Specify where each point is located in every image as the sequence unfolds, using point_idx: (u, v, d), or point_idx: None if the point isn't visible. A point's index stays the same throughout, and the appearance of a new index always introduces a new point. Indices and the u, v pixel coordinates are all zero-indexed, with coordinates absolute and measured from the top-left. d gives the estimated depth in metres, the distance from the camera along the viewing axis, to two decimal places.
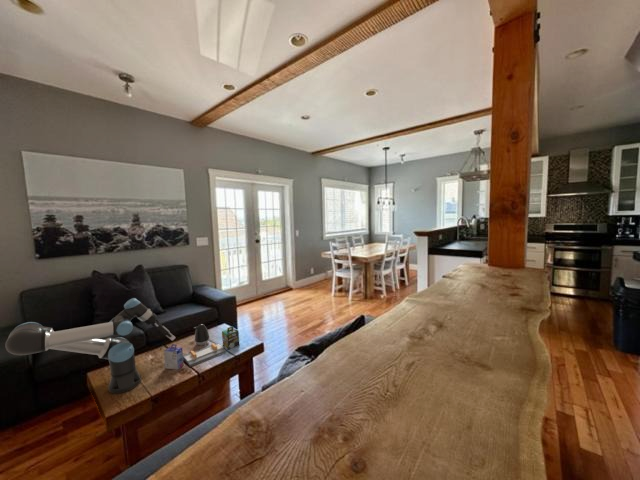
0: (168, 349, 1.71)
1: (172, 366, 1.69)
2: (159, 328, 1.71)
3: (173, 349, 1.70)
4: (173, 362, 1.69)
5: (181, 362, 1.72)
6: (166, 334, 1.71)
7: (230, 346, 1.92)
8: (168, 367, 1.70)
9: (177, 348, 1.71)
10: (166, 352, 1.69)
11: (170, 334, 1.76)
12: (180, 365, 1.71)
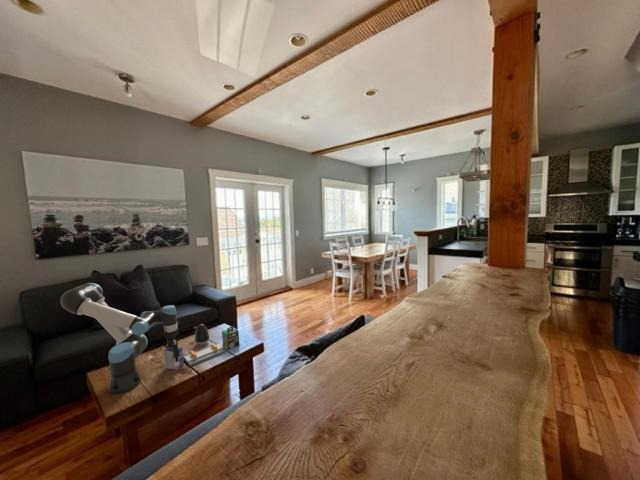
0: (168, 349, 1.71)
1: (173, 366, 1.69)
2: (175, 347, 1.65)
3: None
4: (173, 362, 1.69)
5: (181, 362, 1.72)
6: (176, 356, 1.64)
7: (230, 346, 1.92)
8: (168, 367, 1.70)
9: None
10: (166, 352, 1.69)
11: None
12: (180, 365, 1.71)
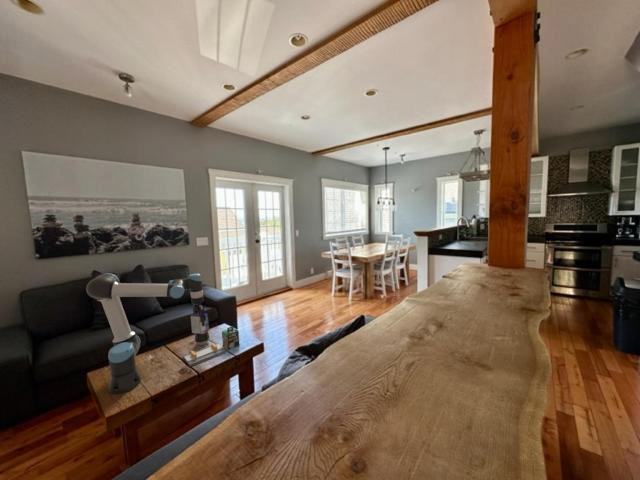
0: (194, 315, 1.80)
1: (199, 331, 1.79)
2: (201, 312, 1.75)
3: None
4: (200, 327, 1.79)
5: (207, 327, 1.81)
6: (203, 320, 1.74)
7: (230, 346, 1.92)
8: (195, 332, 1.80)
9: None
10: (193, 317, 1.79)
11: None
12: (206, 330, 1.80)
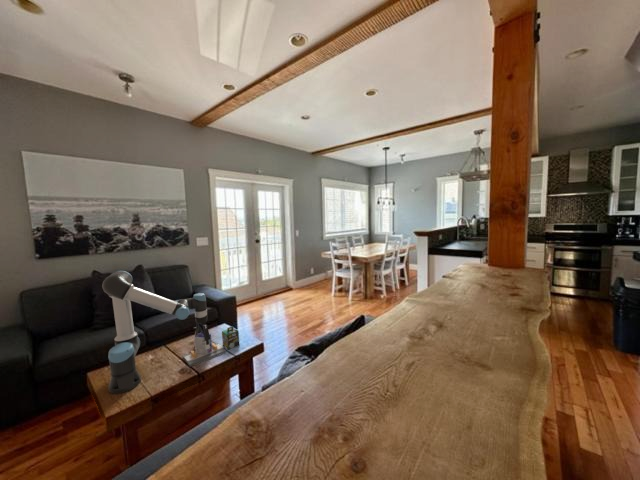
0: (198, 335, 1.83)
1: (202, 351, 1.82)
2: (205, 331, 1.77)
3: (203, 335, 1.83)
4: (203, 348, 1.82)
5: (210, 347, 1.85)
6: (207, 339, 1.76)
7: (230, 346, 1.92)
8: (198, 352, 1.83)
9: None
10: (196, 338, 1.82)
11: None
12: (209, 350, 1.84)
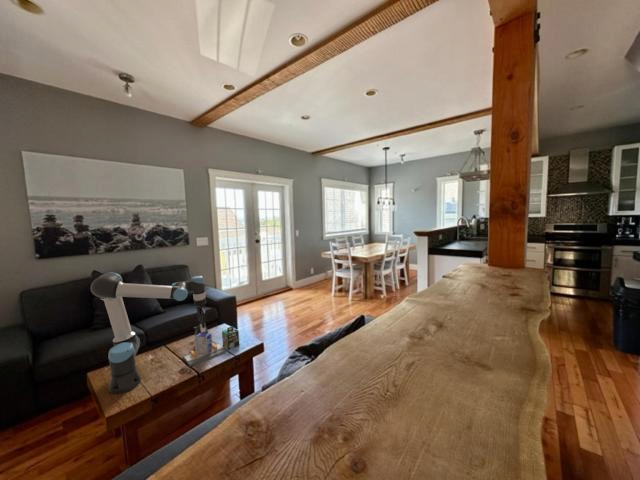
0: (198, 335, 1.84)
1: (203, 351, 1.82)
2: (203, 315, 1.78)
3: (203, 335, 1.83)
4: (203, 347, 1.82)
5: (210, 347, 1.85)
6: (203, 322, 1.80)
7: (230, 346, 1.92)
8: (198, 352, 1.83)
9: (207, 334, 1.85)
10: (197, 337, 1.82)
11: None
12: (209, 350, 1.84)
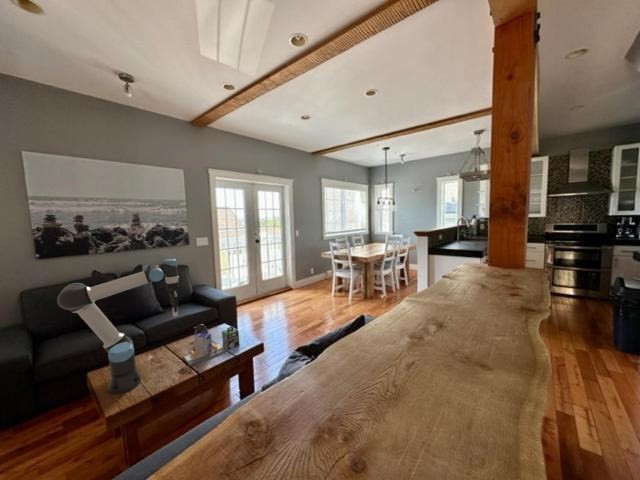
0: (198, 335, 1.83)
1: (202, 351, 1.82)
2: (175, 299, 1.75)
3: (203, 335, 1.83)
4: (203, 348, 1.82)
5: (210, 347, 1.85)
6: (175, 306, 1.77)
7: (230, 346, 1.92)
8: (198, 352, 1.83)
9: (206, 334, 1.84)
10: (196, 338, 1.82)
11: None
12: (209, 350, 1.84)
